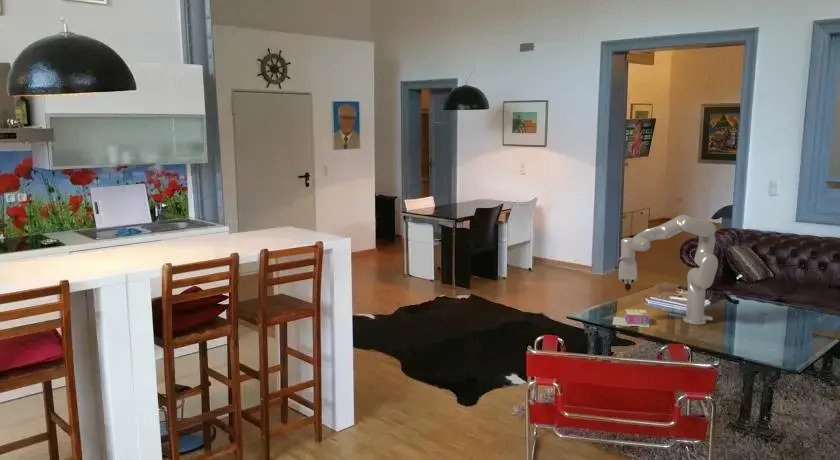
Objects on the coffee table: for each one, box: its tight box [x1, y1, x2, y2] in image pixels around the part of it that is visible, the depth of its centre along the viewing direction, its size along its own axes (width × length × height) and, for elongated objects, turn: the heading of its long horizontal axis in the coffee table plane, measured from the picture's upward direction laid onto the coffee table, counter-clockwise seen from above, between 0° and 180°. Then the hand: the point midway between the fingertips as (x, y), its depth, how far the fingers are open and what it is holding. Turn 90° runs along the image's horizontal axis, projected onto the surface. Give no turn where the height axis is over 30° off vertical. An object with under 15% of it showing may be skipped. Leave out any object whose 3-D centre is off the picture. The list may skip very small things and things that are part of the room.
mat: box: [612, 316, 650, 329], centre depth 389 cm, size 20×14×1 cm
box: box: [624, 309, 650, 324], centre depth 389 cm, size 10×6×12 cm
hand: (627, 290), depth 387 cm, fingers closed
